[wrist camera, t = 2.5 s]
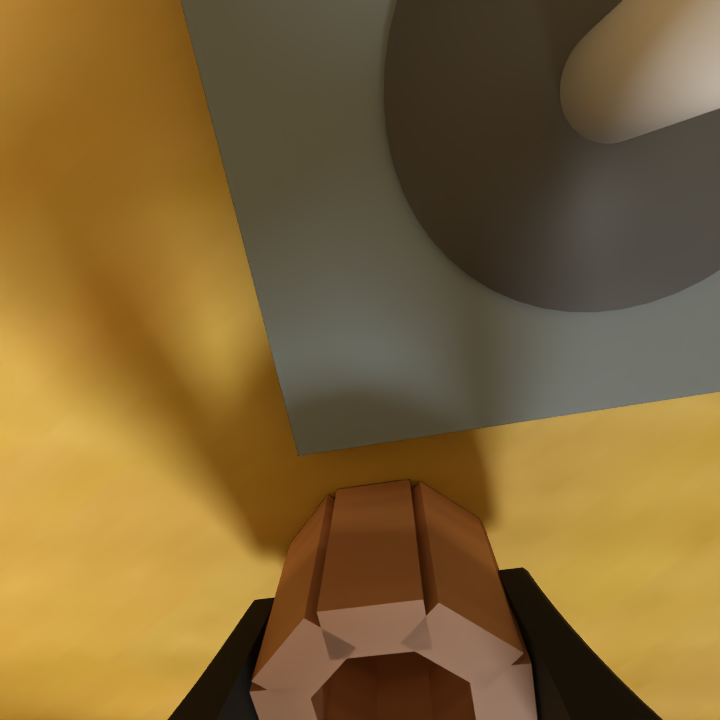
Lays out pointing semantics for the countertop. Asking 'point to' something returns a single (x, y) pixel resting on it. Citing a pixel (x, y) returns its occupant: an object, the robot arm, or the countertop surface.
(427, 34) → the post board
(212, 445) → the countertop surface
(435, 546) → the collar
